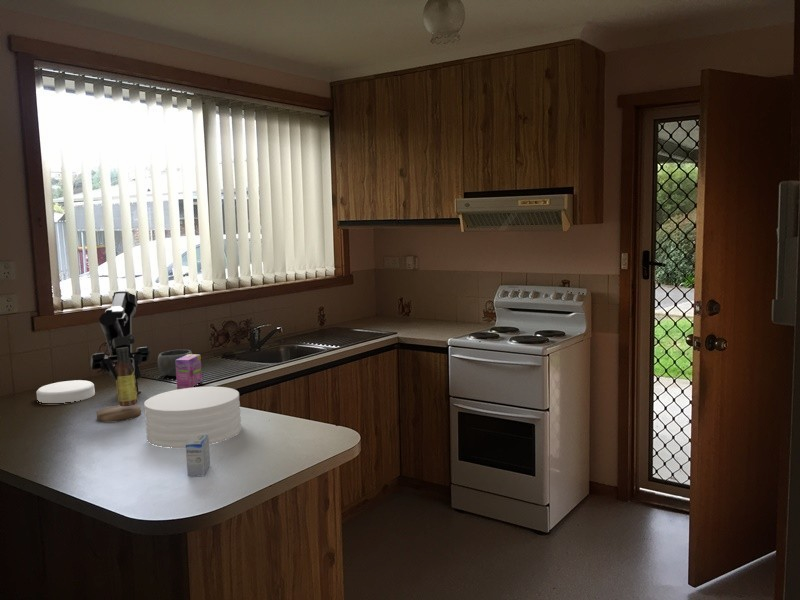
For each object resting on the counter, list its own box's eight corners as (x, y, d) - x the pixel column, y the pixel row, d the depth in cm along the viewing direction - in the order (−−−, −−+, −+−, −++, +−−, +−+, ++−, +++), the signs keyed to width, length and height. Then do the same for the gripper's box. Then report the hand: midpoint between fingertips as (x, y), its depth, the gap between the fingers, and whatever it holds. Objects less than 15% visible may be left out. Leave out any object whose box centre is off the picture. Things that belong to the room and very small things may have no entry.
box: (190, 389, 272) (188, 359, 271) (176, 389, 273) (174, 359, 272) (202, 382, 282) (200, 354, 281) (189, 382, 283) (187, 354, 282)
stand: (87, 419, 235) (87, 413, 235) (120, 408, 248) (120, 403, 248) (117, 423, 229) (117, 417, 229) (149, 412, 242) (149, 406, 242)
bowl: (189, 378, 290) (187, 355, 289) (153, 380, 290) (151, 356, 289) (199, 370, 305) (198, 348, 304) (165, 371, 305) (164, 349, 304)
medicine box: (193, 466, 187) (191, 435, 186) (210, 465, 188) (208, 434, 187) (187, 477, 179) (184, 444, 178) (205, 476, 180) (202, 443, 179)
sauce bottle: (141, 403, 239) (136, 346, 237) (124, 408, 235) (119, 350, 232) (131, 400, 243) (126, 344, 241) (114, 405, 239) (109, 348, 236)
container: (58, 407, 254) (57, 394, 253) (25, 401, 264) (24, 389, 263) (106, 394, 271) (105, 382, 270) (73, 389, 281) (72, 377, 280)
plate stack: (126, 444, 208) (123, 407, 207) (187, 417, 234) (184, 384, 233) (204, 453, 198) (201, 413, 197) (258, 424, 224) (256, 389, 222)
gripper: (88, 330, 233) (99, 368, 226) (146, 323, 244) (157, 359, 236) (86, 350, 241) (96, 387, 233) (142, 342, 251) (153, 378, 244)
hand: (126, 377), depth 237 cm, fingers closed on sauce bottle, 6 cm apart
